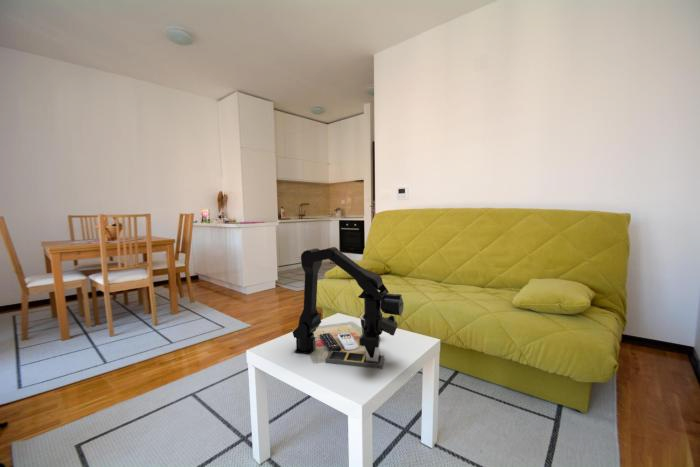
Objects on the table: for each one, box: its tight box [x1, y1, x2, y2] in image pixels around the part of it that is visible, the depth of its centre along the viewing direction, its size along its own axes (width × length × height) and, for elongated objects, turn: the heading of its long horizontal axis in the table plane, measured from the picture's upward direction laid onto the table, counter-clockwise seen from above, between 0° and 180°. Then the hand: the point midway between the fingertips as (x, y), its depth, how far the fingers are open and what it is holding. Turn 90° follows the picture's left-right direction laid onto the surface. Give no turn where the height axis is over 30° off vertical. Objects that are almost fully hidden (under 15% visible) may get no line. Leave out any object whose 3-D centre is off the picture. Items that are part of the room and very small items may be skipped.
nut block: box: [365, 346, 380, 363], centre depth 103 cm, size 4×4×6 cm
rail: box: [325, 350, 385, 370], centre depth 105 cm, size 20×6×2 cm, turn 78°
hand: (372, 354), depth 104 cm, fingers closed on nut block, 4 cm apart
